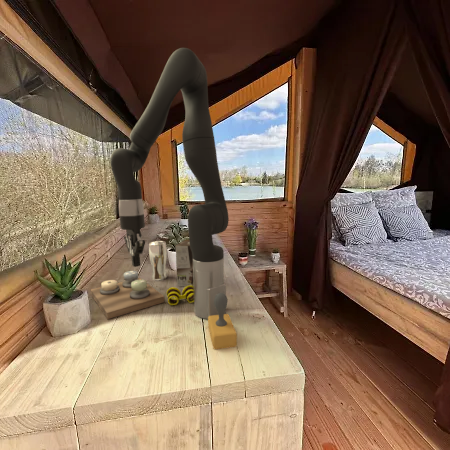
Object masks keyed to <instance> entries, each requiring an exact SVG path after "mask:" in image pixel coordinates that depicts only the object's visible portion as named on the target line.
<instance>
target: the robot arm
mask: <svg viewBox="0 0 450 450" xmlns="http://www.w3.org/2000/svg"><path fill="white" fill-rule="evenodd" d="M180 91H181V95H182V98H183V99H182V100H183V104H184V110H185V115H184V116H185V117H184V118H185V119H184V123H183V126H182V127H183V128H182V134H181V136H182V137H181V138H182V147H183V153H184V159H185V162H186V164H187V166H188V168H189V170H190V171H191V173H192V174H193V176H194V177H195V179H196V180H197V182H198V183H199V185H200V187H201V190H202V194H203V198H204V203H203V204H202V203H201V204H196V205H193V206H192V207H191V208H190V210H189V211H188V215H187V228H188V241H189V242H190V248H191V251H192V255H193V284H194V285H193V286H194V302H193V303H194V305H193V309H194V314H195V316H196V317H198V318H201V319H204V320H205V319H207V320H208V317H209V316H213V315H218V312H217V310H216V308H215V305H214V299H215V296H216V295H217V294H218V293H224V294H225V295H226V296H227V285H226V284H225V268H224V267H225V265H224V264H225V263H224V262H225V257H224V255H225V254H224V252H225V251H224V248H223V247H222V246H219V245H217V244H214V242H213V240H214V239H213V235H216V234H221V233H224V232H225V231H226V229H228V227H229V218H230V217H229V211H228V207H227V202H226V199H225V195H224V191H223V185H222V181H221V175H220V170H219V163H218V157H217V156H218V155H217V149H216V147H217V146H216V142H215V135H214V129H213V123H212V118H211V114H210V113H211V111H210V107H209V92H208V91H209V89H208V74H207V70H206V67H205V65H204V64H203V62H202V61H201V60H200V58H199V57H198V56H197V55H196V53H195V52H194V50H193V51H192V50H191V49H190V48H187V47H180V48H177V49H176V50H175V51H173V52H172V54H170V56H169V58H168V60H167V62H166V64H165V66H164V68H163V71H162V73H161V75H160V78H159V80H158V82H157V84H156V86H155V89H154V91H153V93H152V95H151V98H150V100H149V101H148V102H149V103H148V104H147V106H146V108H145V110H144V111H143V113H142V115H141V116H140V118H139V120H138V121H137V122H136V123H135V125H134V127H133V128H132V130H131V132H130V134H129V140H130V142H131V143H130V145H129V148H124V147H119V148H116V149H114V150H113V152H112V153H111V156H110V162H109V163H110V168H111V172H112V174H113V178H114V181H115V183H116V185H117V193H118V195H117V196H118V214H119V225H120V229H121V230H123V231H124V230H125V232H126V234H125V235H124V242H125V244H126V248H127V251H128V253H129V254H130V256H131V266H132V267H134V268H136V267H140V266H141V256H140V255H142V254H143V252H144V249H145V245H146V244H145V243H146V240H145V239H143V235H142V231H141V229H143V228H145V227H146V222H145V218H146V217H145V207H144V202H143V193H142V186H141V183H140V181H139V180H136V177H135V174H134V173H137V172H138V171H140V170H141V169H142V168H143V166H144V165H145V163H146V161H147V159H148V156H149V154H150V151H151V148H152V147H153V145H155V143H156V141H157V139H159V137H160V135H161V134H162V132H163V130H164V127H165V126H166V123H167V119H168V115H169V111H170V108H171V106H172V103H173V101H174V100H175V97H177V94H178V93H179V92H180ZM224 314H227V309H226V310H225V312H224Z"/></svg>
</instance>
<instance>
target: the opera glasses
mask: <svg viewBox="0 0 450 450" xmlns="http://www.w3.org/2000/svg"><path fill="white" fill-rule="evenodd" d="M166 297H167V303H168V304H169V306H177V305H178V303H179V301H180V300H187V302H188V304H190V303H191V304H192V303H194V285H193V286H192V285H188V286H186V287H184V288H183V289H182V291H181V290H180V289H179V288H178V287H175V286H174V287H172V286H171V287H169V288H168V289H167V290H166Z"/></svg>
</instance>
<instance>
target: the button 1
mask: <svg viewBox="0 0 450 450" xmlns="http://www.w3.org/2000/svg"><path fill="white" fill-rule="evenodd" d="M117 283H118V281H117V280H115V279H108V280H103V281H102V282H101V286H100V287H102V290H103V291H111V290H114V289H116V288H117Z"/></svg>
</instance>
